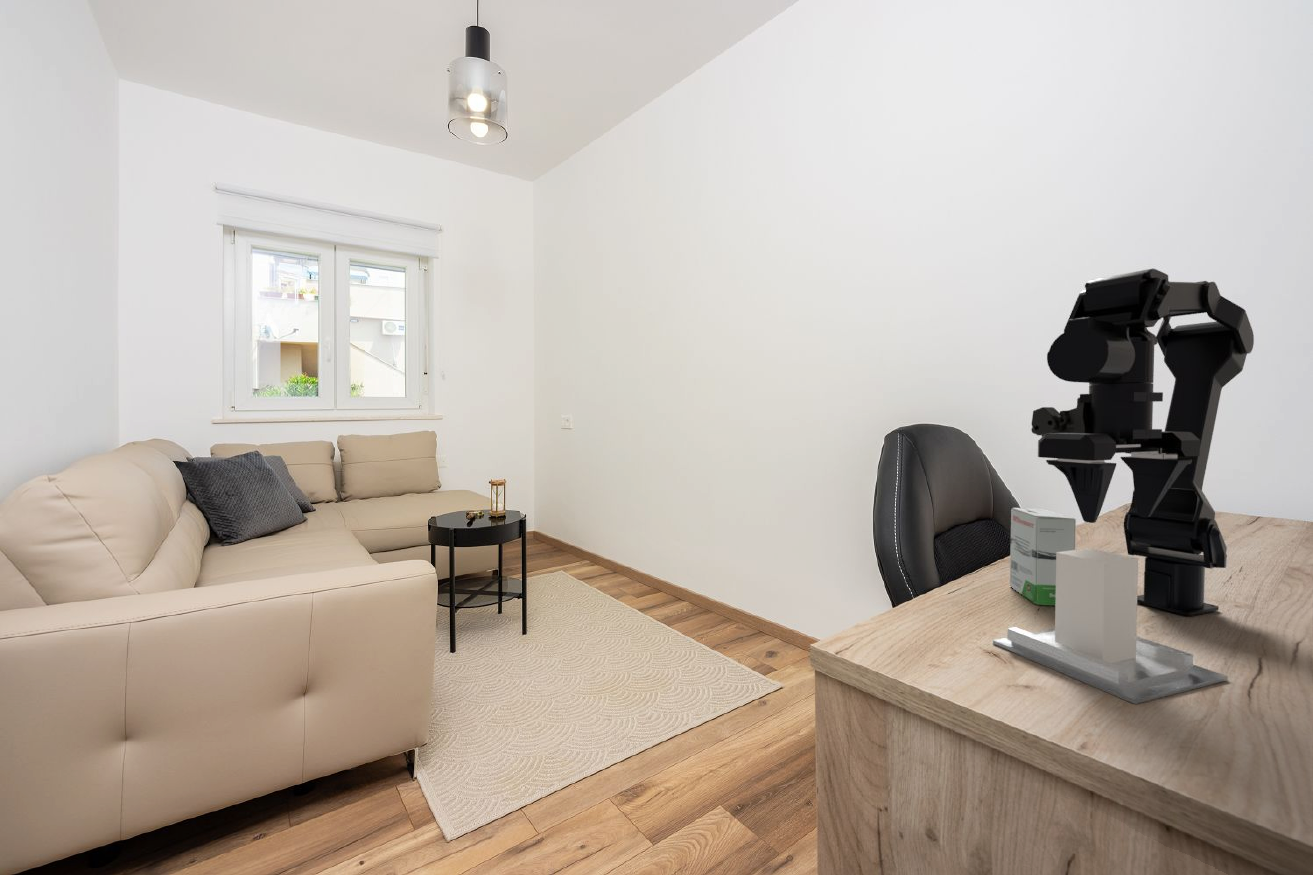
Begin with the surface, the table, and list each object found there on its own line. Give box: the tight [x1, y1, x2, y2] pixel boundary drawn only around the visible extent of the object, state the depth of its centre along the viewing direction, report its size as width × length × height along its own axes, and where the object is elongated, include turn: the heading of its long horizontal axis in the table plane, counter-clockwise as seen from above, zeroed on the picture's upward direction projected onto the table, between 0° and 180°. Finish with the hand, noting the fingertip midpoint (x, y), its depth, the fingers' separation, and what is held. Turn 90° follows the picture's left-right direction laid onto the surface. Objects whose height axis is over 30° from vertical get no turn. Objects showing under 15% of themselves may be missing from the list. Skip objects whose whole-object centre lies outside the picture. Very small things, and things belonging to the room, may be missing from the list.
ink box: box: [1009, 507, 1077, 606], centre depth 78 cm, size 9×5×12 cm, turn 168°
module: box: [1054, 547, 1139, 663], centre depth 58 cm, size 5×5×10 cm
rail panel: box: [992, 626, 1229, 705], centre depth 58 cm, size 13×14×2 cm
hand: (1117, 519), depth 66 cm, fingers open, 9 cm apart
